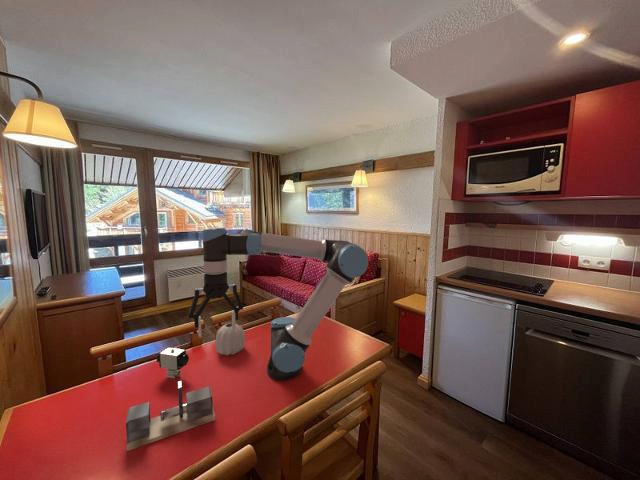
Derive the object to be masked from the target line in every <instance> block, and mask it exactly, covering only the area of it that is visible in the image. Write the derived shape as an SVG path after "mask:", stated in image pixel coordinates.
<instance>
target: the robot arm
mask: <svg viewBox="0 0 640 480" xmlns="http://www.w3.org/2000/svg"><path fill="white" fill-rule="evenodd" d="M202 233H203V234H202V252H203V253H202V254H203V272H204V274H203V280H204V281H203V283H204V284H203V287H202V288H201V287H200V288H199V287H195V288H194V290H193V291H194V295H193V299H192V302H191V305H190V307H189V310H188V313H187V314H188V315H187V316H188V319H193V320H194V328H195V329H197V333H198V334H197V335H198V338H202V318H201V314H202V312H203V311H204V309H205V308H206V306H207V304H208V303H209V302H210V300H211V299H212V300H215V299H222V298H224V299H225V301H226V302H227V303H228V305H229V306H230V308H231V309H232V310H231V323H232V328H233V330H236V324H237V323H236V321H238V320H239V313H240V310H241V311H242V310H244V306H243V303H242V300H241V298H240V296H239V294H238V291H237V290H238V287H237V285H236V284H235V283H232V284H228V272H227V270H228V263H227V262H228V258H227V256H235V255H239V256H244V255H247V256H248V255H250V256H254V255H260V254H261V253H262V252H265V253H273V254H280V255H286V256H287V255H288V256H295V257H303V258H309V259H310V258H311V259H317V260H319V262H321V263H322V262H323V263H327V264H326V266H325V269H326V273H325V274H324V276H323V277H322V279H321V280H320V282H319V283H318V285H317V286H316V288H315V289H314V290H313V292H312V294H311V295H310V297H309V298H308V300H307V301H306V303H305V304H304V306H303V307H302V308H301V310H300V312H299V313H298V315H297V316H296V317H290V316H285V317H284V316H283V317H276V318H274V319H273V320H272V321H271V322H270V355H269V359H268V361H267V364H266V374H267V375H268V376H269V377H270V378H271V379H273V380H276V381H289V380H292V379H295V378H297V377H298V376H299V375H301V373H302V368H303V365H304V364H305V361H306V352H307V350H308V349H309V347H310V346H311V345H312V339H311V337H312V336H313V334H314V332H315V331H316V329H317V328H318V326H319V325H320V324H321V322H323V319H324V317H325V316H326V315H327V313H328V311H329V310H330V309H331V307H332V306H333V304H334V303H335V301H336V300H337V298H338V296H339V295H340V293H341V292H342V291H343V289H344V288H345V287H346V285H351V284H352V283H353V281H355V278H359V277H361V276H362V275H364V274H365V272H366V271H367V269H368V267H369V257H368V253H367V251H366V250H364V248H363V247H361V246H360V245H358V244H356V243H352V242H350V241H347V240H337V239H336V240H334V239H325V238H323V239H321V240H315V239H308V238H301V237H297V236H295V237H294V236H288V235H280V234H273V233H267V232H261V231H254V230H252V229H243V230H241V231H240V232H239V233H228V232H227V229H226V227H216V226H214V227H206V228H204V229H203V231H202ZM229 290H230V291H232V294H233V295H234V299H235V301H236V304H237V305H235V303H234V302H233V301H232V299H231V298H230V297H229V296H228V294H227V293H228V291H229ZM202 293H204V294H205V296H204V298H203V300H202V301H201V302H200V305H199V306H198V307H197V305H198V301H199V298H200V296H201V295H202ZM196 307H197V308H196Z"/></svg>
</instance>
